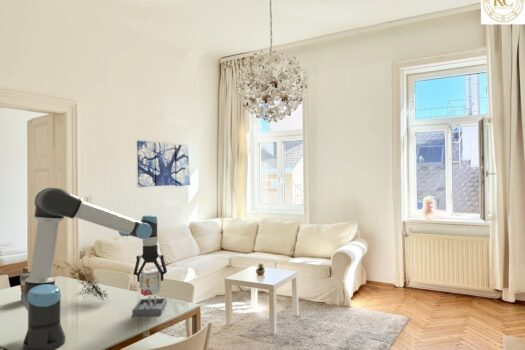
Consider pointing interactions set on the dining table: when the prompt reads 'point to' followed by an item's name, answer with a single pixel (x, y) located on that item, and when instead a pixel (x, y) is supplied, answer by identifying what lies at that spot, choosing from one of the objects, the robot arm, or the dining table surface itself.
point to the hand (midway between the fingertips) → (150, 287)
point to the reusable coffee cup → (23, 279)
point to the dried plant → (87, 280)
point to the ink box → (150, 282)
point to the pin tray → (149, 306)
